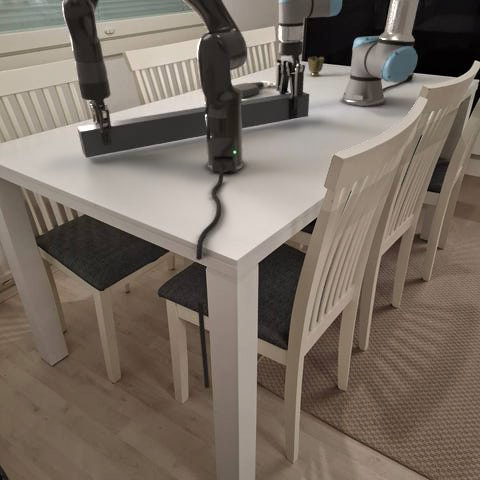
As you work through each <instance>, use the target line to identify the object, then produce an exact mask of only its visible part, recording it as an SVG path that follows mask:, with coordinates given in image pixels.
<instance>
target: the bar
mask: <svg viewBox="0 0 480 480" xmlns="http://www.w3.org/2000/svg"><path fill="white" fill-rule="evenodd" d="M290 97H291V92H289V93H286V94H281V95H280V94H276V95H270V96H262V97H256V98H251V99H245V100H242V130H243V129H247V128H254V127H258V126H259V127H260V126H264V125H269V124H274V123H280V122H285V121H291V120H296V119H300V118H307V117H309V110H310V109H309V107H310V94H309V93H307V92H305V91H303V97H300V98H298V108H297V118H293V119H289V100H290V99H289V98H290ZM110 123H111V128H112V129H111V131H110V136H111V141H112V144H111V145H107V146H105V145H104V144H103V140H102V135H101V131H100V127H99V124H95V123H93V124H88V125H81V126H77V127H76V128H77V133H78V136H79V142H80V146H81V150H82V151H81V152H82V154H83V156H84V157H85V158H87V159H88V158H93V157H98V156H103V155H108V154H115V153H119V152H120V153H121V152H124V151H129V150H134V149H135V150H136V149H141V148H146V147H152V146H157V145H162V144H167V143H168V144H169V143H172V142H177V141H178V142H179V141H184V140H189V139H194V138H199V137H205V136H206V118H205V106H200V107H195V108H194V107H193V108H187V109H182V110H176V111H170V112H161V113H156V114H150V115H144V116H138V117H132V118H126V119H119V120H113V121H110ZM103 127H107V125H106V124H103Z"/></svg>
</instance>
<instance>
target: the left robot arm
mask: <svg viewBox="0 0 480 480" xmlns="http://www.w3.org/2000/svg"><path fill="white" fill-rule="evenodd" d="M99 1H100V0H63V1H62V14H63V17H64V21H65V25H66V28H67V31H68V34H69V37H70V42H71V49H72V53H73V57H74V58H73V59H74V62H75V72H76V78H77V81H78V86H79V91H80V96H81V98H82V99H83V100H84V101H88V105H89V109H90V112H91V113H90V114H91V117H92V121H93V124H99V127H100V131H101V135H102V140H103V144H104V145H105V146H107V145H111V144H112V141H111V136H110V131H111V129H112V128H111V123H110V122H111V115H110V110H109V108H108V104H106V103H105V99H109V98H110V97H111V96H112V93H111V88H110V83H109V76H108V71H107V66H106V63H105V60H104V54H103V48H102V44H101V39H100V38H99V36H98V29H97V23H96V17H95V16H96V15H95V14H96V10H97V7H98V5H99ZM182 2H184V3H185V4H186V5H187V6H188V7H189V8H190V9H191V10H192V11H193V12H194V13H195V14H196V15H197V16H198V17H199V19H200V20H201V22H202V23H203V25H204V27H205V29H206V31H207V32H206V33H204V34H203V35H202V36H201V37H200V39H199V41H198V42H197V49H196V61H197V69H198V78H199V85H200V89H201V92H202V94H203V99H204V100H203V101H204V107H205V118H206V135H205V136H206V151H207V152H206V153H207V168H208V169H209V170H211V172H212V173H218V181H217V183H216V184H215V185H214V187H213V188H212V190H211V197H212V199H213V201H214V202H215V205H216V209H215V215H214V218H213V220H212V221H211V222H210V223H209V224H208V226H206V227H205V228H204V229H203V231H202V232H201V233H200V235H199V237H198V240H197V242H196V243H197V244H196V255H195V256H196V260H197V261H201V260H202V258H203V243H204V240H205V238H206V236H207V235H208V234H209V233H210V232H211V231H212V229H214V228H215V227H216V225H217V224H218V222H219V220H220V218H221V214H222V204H221V201H220V199H219V197H218V195H217V192H218V190H219V189H220V187H221V186H222V185H223V180H224V173H237V171H239V170H240V169H242V168H243V166H244V159H243V129H242V101H243V100H242V99H243V98H242V95H241V90H240V88H238V87H236V86H234V84H233V83H232V76H231V75H232V74H231V71H234V70H237V69H239V68H241V67H243V65H244V64H245V63H246V61H247V59H248V47H247V41H246V40H245V37H244V35H243V33H242V32H241V30H240V28H239V27H238V24H236V22H235V20H234V18H233V17H232V15H231V14H230V12H229V10H228V9H227V7H226V5H225V3H224V1H223V0H182ZM103 124H106V125H107V127H103ZM197 312H198V314H197V315H198V325H199V338H200V350H201V358H202V369H203V382H204V383H203V384H204V388H206V389H209V388H210V377H209V376H210V375H209V364H208V352H207V341H206V328H205V316H204V315H205V314H204V313H205V312H204V302H200V301H199V300H197Z"/></svg>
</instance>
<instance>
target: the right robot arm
mask: <svg viewBox="0 0 480 480" xmlns="http://www.w3.org/2000/svg"><path fill="white" fill-rule="evenodd" d="M419 2H420V0H390V2H389V7H388V13H387V16H386V17H387V18H386V23H385V27H384V31H383V32H382V33H381V34H380V35H372V36H358V37H356V38H354V41H353V45H352V52H351V53H352V55H351V64H350V73H349V74H350V75H349V80H348V83H347V85H346V87H345V90H344V92H343V95H342V102H343V103H345V104H347V105H350V106H357V107H376V106H379V105H382V104H383V103H384V100H385V94H384V91H386V90H388V89H391V88H394V87H397V86H400V85H403V84H405V83H406V82H408V81H410V80H409V79H408V78H407V77H408V76H410V75H412V77H413V76H414V75H415V73H414V71H415V69H416V67H417V64H418V53H417V51H416V50H415V48H414V47H415V42H416V41H415V40H416V39H415V38H414V36H413V34H412V33H413V29H414V24H415V20H416V15H417V10H418V5H419ZM342 7H343V0H278V33H277V36H278V37H277V39H278V40H279V41H278V45H277V48H278V49H277V53H278V55H279V56H280V58H279V59H275V66H276V76H275V79H276V81H275V83H276V85H275V89H276V92H278V93H279V94H278V95H281V94H288V93H291V97H290V98H289V99H290V100H289V119H291V120H294V119H293V118H296V119H298V118H297V108H298V98H300V97H303V92H304V80H305V79H304V77H305V69H306V65H305V64H301V62H300V61H301V60H300V56H301V55H302V54H303V52H304V51H303V50H304V48H303V47H304V42H303V41H302V40H303V39H304V25H305V19H309V18H310V19H311V18H329V17H334V16H338V14H339V13H340V12H341V10H342ZM382 80H383V81H384V82H389V83H395V84H391V85H388V86H385V87H383V83H382ZM288 88H289V90H290V91H288Z"/></svg>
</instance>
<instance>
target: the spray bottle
mask: <svg viewBox="0 0 480 480" xmlns="http://www.w3.org/2000/svg"><path fill="white" fill-rule="evenodd" d="M233 86H236V87H238V88H240V90H241V95H242V99H244V98H249V97H251V96H254V95H257V94H258V93H259V92H260V89H261V88H262V89H263V88H264V87H270V86H271V87H272V86H276V82H274V81H269V80H261V81H256V82H243V83H238V84H235V85H234V84H233Z"/></svg>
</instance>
